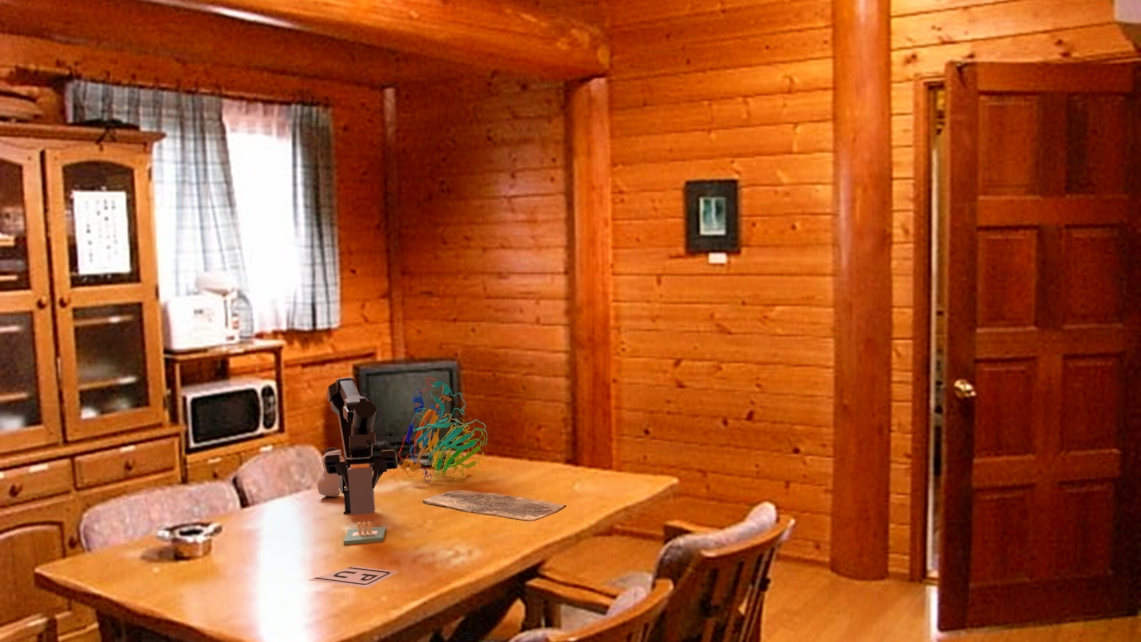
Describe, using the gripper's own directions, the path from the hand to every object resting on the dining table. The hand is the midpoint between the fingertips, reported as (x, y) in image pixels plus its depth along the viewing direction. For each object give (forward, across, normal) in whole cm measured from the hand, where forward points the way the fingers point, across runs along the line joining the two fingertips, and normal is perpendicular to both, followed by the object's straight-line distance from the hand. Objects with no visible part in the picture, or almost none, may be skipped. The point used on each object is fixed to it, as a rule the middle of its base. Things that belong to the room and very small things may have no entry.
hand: (360, 488), depth 264 cm
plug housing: (+4, 0, +6) cm, 7 cm away
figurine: (-27, -15, +46) cm, 56 cm away
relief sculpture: (-8, +35, +27) cm, 45 cm away
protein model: (-37, +20, +56) cm, 70 cm away
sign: (+29, -5, -10) cm, 31 cm away
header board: (+8, 0, +10) cm, 13 cm away
